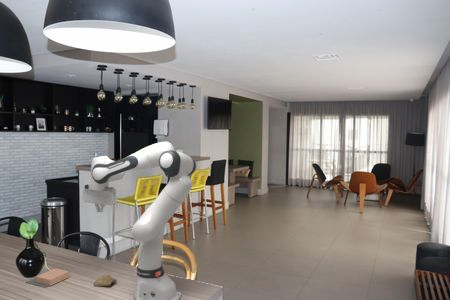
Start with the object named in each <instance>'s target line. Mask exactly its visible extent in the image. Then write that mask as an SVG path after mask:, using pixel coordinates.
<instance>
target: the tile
mask: <svg viewBox="0 0 450 300" xmlns="http://www.w3.org/2000/svg"><path fill="white" fill-rule="evenodd" d="M69 275H70V271H68V270H64V269H60V268H53V269H50V270H48V271H46V272H43V273H41V274H38V275H36V276H35V278H36V282H37V283H41V284H45V285H49V286H48V287H50V286H53V285H55V284H57V283H59V282H62V281H64V280H65V279H68V278H70V277H69Z"/></svg>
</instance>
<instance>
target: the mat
mask: <svg viewBox="0 0 450 300" xmlns="http://www.w3.org/2000/svg"><path fill="white" fill-rule="evenodd" d="M70 277H71V275H70V274H69V277H68V278H70ZM25 283H26V284H30V285H34V286H36V287H37V286H38V287H41V288H45V289H46V288H48V287H50V286H49V285H45V284H41V283H37V282H36V277H34V278H33V279H30V280H26V281H25Z"/></svg>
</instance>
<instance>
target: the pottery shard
mask: <svg viewBox="0 0 450 300" xmlns="http://www.w3.org/2000/svg"><path fill="white" fill-rule="evenodd" d="M114 282H115V283H116V282H117V279H116V278H114V277H112V276H111V275H110V274H105V275H101V276H100V277H98V278H97V279H96V280H95V281H94V283H93V286H95V287H96V286H97V287H109V286H111V284H113V283H114Z"/></svg>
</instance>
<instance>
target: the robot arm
mask: <svg viewBox="0 0 450 300" xmlns="http://www.w3.org/2000/svg"><path fill="white" fill-rule="evenodd" d="M90 163H91V164H90V174H91V179H90V182H88V183H86V184H83V186H82V187H83V191H82V201H83V202H84V203H90V204H94V207H95V208H96V213H103V212H104V208H105V206H115V205H117V203H118V199H117V191H116V189H115V187H113V186H109V183H110V182H111V183H112V182H115V181H119V180H121V179H123V178H124V177H125V172H130V171H138V170H139V171H140V170H142V171H143V170H149V169H153V168H154V169H155V168H157V167H159V168H160V169H161V170H162V172H163V173H164V174H165V175H164V176H166V177H167V178H169V180H168V183H167V184H166V185H165V187H164V188H163V189H162V190H161V191H160V193H158V195H157V197H156V198H155V199H154V201H153V202H152V203H150V205H149V206H148V208H146V210H145V211H144V212H143V213H142V214H141V215H140V217H139V218H138V219H137V220H136V221H135V223H134V224H133V226H132V228H131V236H132V238H133V239H134V240H135V241H136V242H138V243H139V247H138V249H137V266H136V276H137V280H136V287H135V291H134V295H133V297H134V298H135V300H180V299H181V298H182V292H180V291H178V290H177V286H176V282H174V281H173V280H172V279H171V278H170V277H169V276H168V275H167V274H166V273H165V271H166V270H167V267H164V266H163V264H162V247H163V242H164V237H165V236H164V235H165V230H166V229H165V228H166V225H167V222H169V220H170V219H171V218H172V217H173V216H174V215H175V213H176V212H177V211H178V209H180V207H181V205H182V204H183V203H184V201H185V200H186V198H187V197H188V195H189V194H190V193H191V190H192V188H193V185H194V184H193V183H194V182H193V180H192V179H191V177H190V176H192V175H193V174H194V173H195V171H196V169H197V162H196V160H195V159H194V158H193V157H192V156H190V155H188V154H185V153H183V152H181V151H177V150H175V147H174V145H173V144H172V143H171V142H169V141H160V142H156V143H153V144H151V145H148V146H145V147H144V148H141V149H140V150H137V151H136V152H134V153H131V154H130V155H128V156H126V157H124V158H120V159H117V160H116V161H114V160H112V159H111V158H109V156H107V155H97V156H94V157H92V159H91V162H90Z"/></svg>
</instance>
